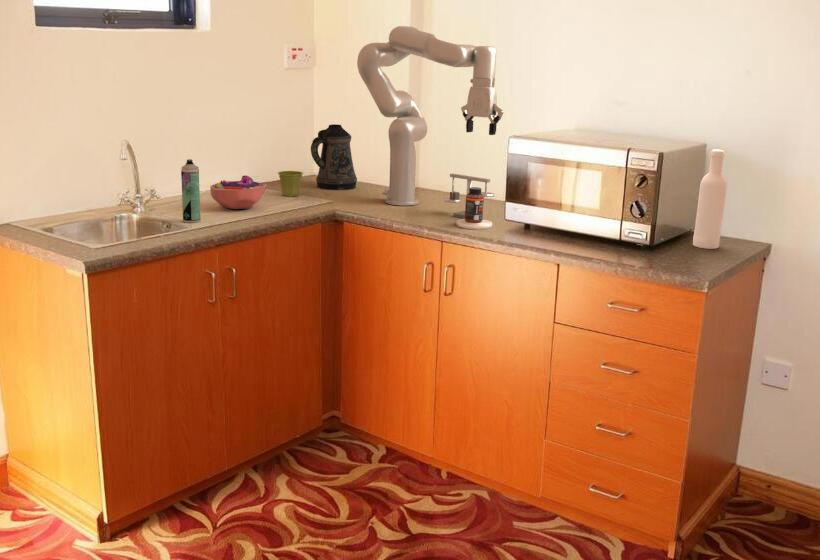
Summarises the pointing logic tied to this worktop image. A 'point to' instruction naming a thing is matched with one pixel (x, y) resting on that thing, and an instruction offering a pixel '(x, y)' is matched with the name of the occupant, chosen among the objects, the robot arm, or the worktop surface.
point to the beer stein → (334, 159)
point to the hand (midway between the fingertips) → (480, 133)
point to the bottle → (711, 205)
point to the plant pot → (290, 182)
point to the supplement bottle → (474, 205)
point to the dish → (474, 224)
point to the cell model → (238, 193)
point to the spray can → (190, 192)
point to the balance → (455, 195)
